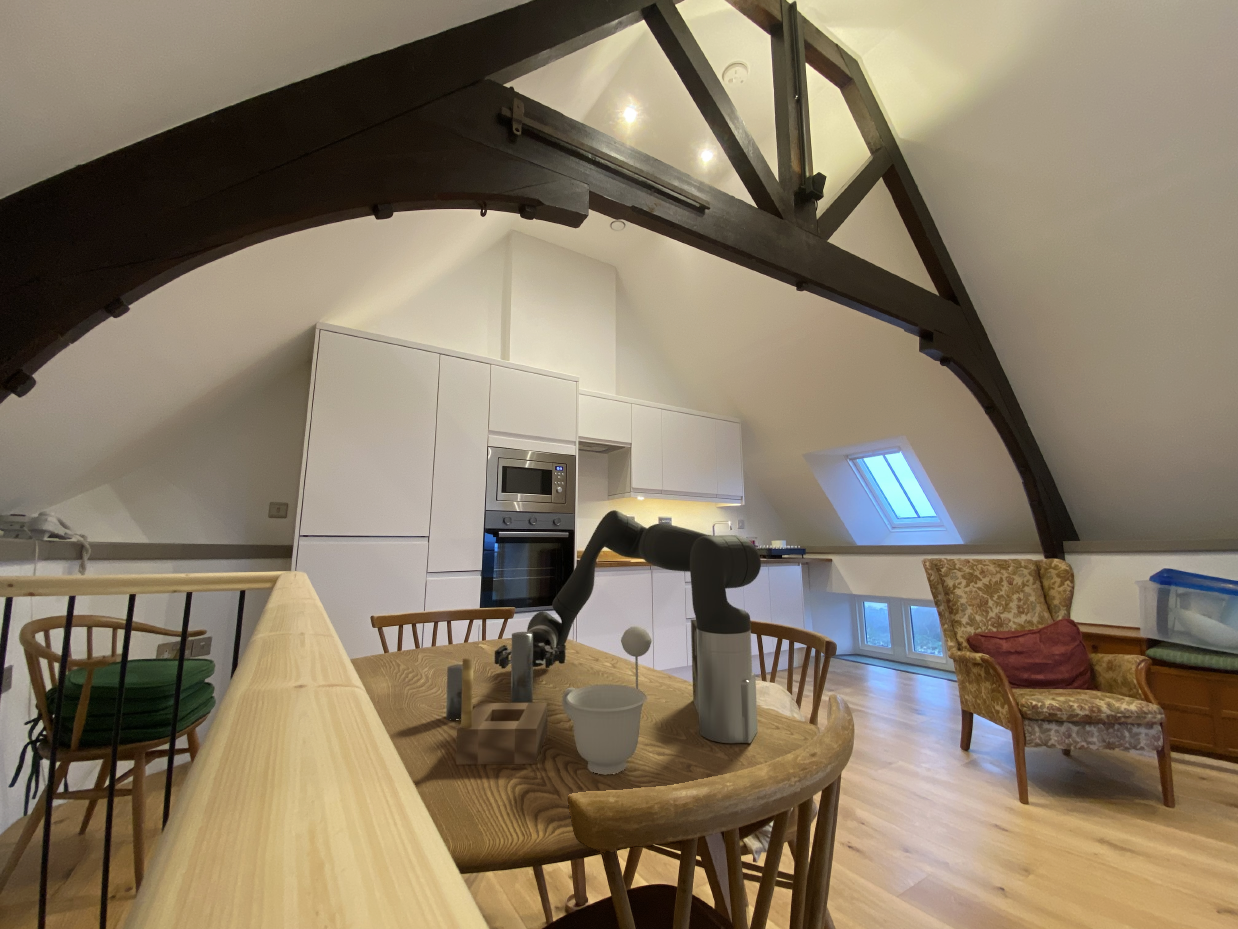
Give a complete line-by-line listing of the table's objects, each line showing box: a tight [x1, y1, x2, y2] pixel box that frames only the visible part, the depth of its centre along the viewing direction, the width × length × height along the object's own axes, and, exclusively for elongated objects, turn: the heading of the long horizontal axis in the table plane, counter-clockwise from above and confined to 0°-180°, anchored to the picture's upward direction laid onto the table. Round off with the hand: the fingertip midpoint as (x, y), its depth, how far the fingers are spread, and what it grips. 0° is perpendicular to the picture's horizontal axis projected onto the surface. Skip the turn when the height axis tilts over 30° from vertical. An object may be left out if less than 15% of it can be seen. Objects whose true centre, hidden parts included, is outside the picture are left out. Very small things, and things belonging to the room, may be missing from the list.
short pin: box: [445, 663, 463, 721], centre depth 101 cm, size 4×4×9 cm
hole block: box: [455, 657, 548, 765], centre depth 87 cm, size 12×12×15 cm
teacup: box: [561, 683, 648, 775], centre depth 80 cm, size 12×15×10 cm
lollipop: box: [620, 625, 653, 689], centre depth 107 cm, size 6×6×15 cm
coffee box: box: [690, 619, 699, 715], centre depth 105 cm, size 9×6×16 cm
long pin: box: [510, 631, 534, 703], centre depth 101 cm, size 4×4×15 cm
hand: (525, 663), depth 104 cm, fingers open, 8 cm apart
